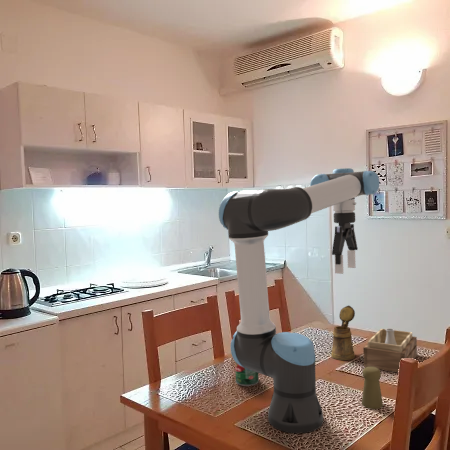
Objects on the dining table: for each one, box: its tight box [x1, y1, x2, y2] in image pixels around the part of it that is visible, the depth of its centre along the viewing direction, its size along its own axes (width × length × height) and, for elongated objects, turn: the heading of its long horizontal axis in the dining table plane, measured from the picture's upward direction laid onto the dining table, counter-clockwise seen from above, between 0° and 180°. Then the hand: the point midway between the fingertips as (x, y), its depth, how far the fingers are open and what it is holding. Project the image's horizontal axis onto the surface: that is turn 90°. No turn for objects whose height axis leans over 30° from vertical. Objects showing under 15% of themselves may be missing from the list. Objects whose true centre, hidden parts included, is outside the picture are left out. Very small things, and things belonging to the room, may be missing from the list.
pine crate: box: [367, 328, 413, 352], centre depth 172 cm, size 18×12×8 cm, turn 147°
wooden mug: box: [330, 305, 356, 361], centre depth 180 cm, size 9×14×18 cm, turn 147°
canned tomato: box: [234, 361, 260, 387], centre depth 158 cm, size 8×8×11 cm
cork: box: [361, 367, 384, 410], centre depth 137 cm, size 6×6×11 cm
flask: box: [385, 327, 397, 345], centre depth 172 cm, size 7×7×10 cm
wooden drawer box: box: [362, 335, 418, 373], centre depth 172 cm, size 21×14×7 cm, turn 147°
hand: (345, 270), depth 168 cm, fingers open, 13 cm apart
